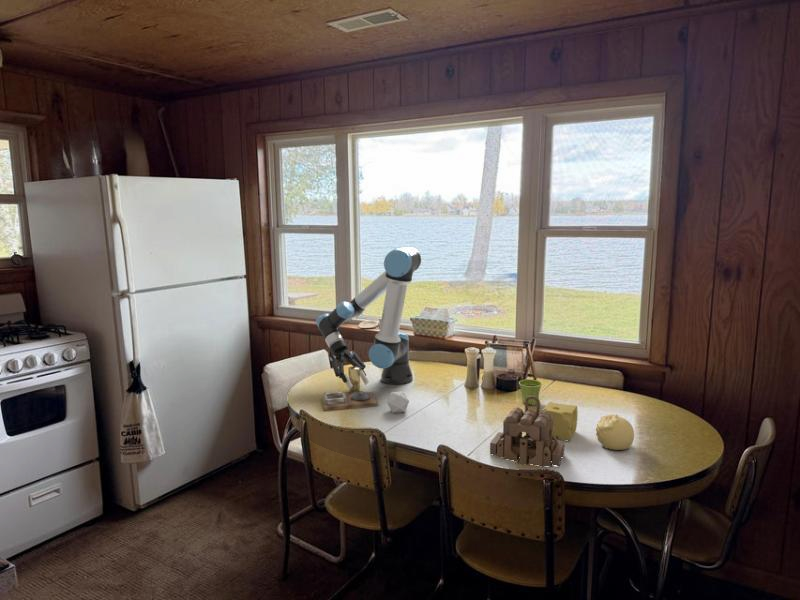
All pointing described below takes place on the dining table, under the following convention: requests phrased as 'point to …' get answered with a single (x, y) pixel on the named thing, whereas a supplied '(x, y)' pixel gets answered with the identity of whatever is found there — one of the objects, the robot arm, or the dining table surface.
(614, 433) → the sculpture
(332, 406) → the gear board
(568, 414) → the cheese
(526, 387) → the plant pot
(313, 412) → the dining table surface
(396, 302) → the robot arm
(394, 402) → the die
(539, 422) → the wooden puzzle
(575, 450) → the dining table surface
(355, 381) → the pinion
